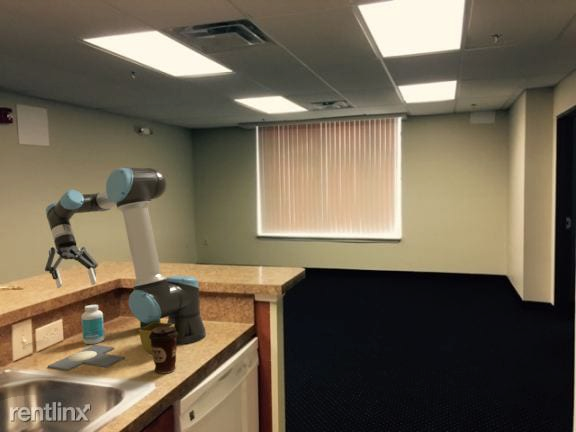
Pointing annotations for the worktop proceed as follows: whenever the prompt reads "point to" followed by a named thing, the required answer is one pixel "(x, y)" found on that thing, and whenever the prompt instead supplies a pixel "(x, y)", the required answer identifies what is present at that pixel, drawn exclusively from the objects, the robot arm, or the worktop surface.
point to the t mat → (88, 358)
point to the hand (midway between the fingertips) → (77, 284)
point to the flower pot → (147, 331)
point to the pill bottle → (92, 325)
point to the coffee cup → (164, 348)
